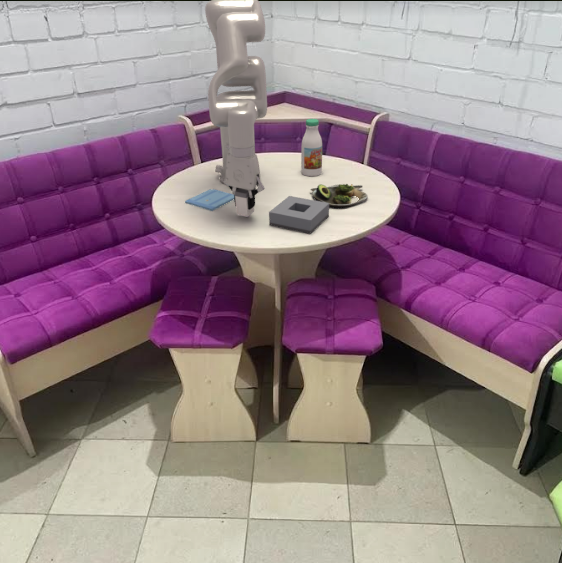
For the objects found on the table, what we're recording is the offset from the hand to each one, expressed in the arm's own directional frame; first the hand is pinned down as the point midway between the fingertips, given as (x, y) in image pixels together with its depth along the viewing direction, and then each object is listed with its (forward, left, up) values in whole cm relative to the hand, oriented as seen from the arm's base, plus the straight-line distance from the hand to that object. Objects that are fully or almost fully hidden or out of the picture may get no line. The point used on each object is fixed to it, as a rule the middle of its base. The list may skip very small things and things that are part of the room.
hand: (244, 205), depth 177 cm
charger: (0, 0, -2) cm, 2 cm away
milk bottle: (+2, +45, -4) cm, 46 cm away
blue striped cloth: (-17, +7, -5) cm, 19 cm away
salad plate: (+20, +27, -5) cm, 35 cm away
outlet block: (+16, +5, -4) cm, 18 cm away
